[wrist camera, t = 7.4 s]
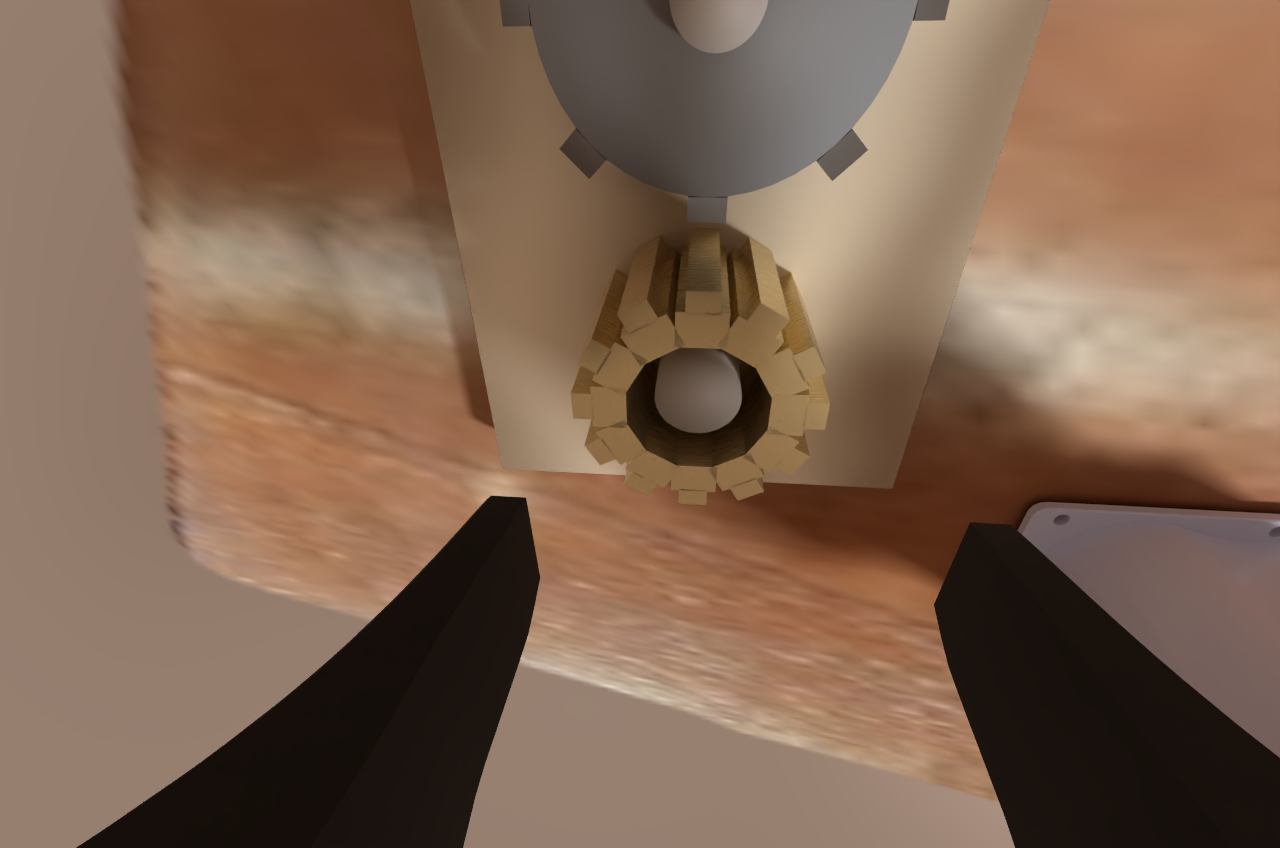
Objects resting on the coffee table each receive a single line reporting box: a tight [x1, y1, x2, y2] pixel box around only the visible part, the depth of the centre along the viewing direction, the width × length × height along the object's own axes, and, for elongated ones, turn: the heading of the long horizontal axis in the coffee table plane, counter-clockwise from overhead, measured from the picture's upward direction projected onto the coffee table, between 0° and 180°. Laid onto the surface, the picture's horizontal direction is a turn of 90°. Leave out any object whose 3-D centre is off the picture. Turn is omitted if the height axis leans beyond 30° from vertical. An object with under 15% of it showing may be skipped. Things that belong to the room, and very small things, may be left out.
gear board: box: [409, 0, 1050, 489], centre depth 14 cm, size 13×17×5 cm
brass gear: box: [571, 227, 830, 505], centre depth 15 cm, size 6×6×4 cm
